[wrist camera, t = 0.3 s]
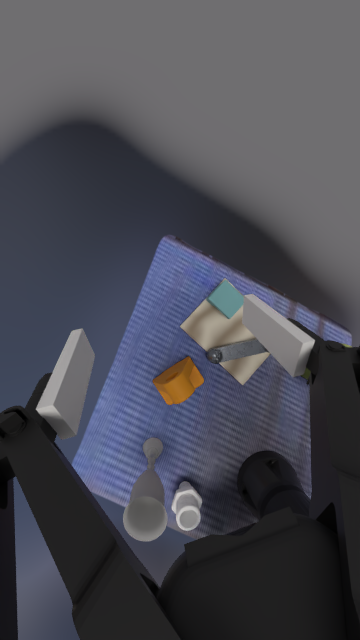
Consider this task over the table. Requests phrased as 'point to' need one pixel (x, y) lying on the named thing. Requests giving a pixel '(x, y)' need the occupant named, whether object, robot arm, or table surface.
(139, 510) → the chalice
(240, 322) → the base board
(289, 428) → the table surface
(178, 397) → the bracket
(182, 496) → the pipe fitting
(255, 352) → the link
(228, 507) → the table surface
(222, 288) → the block
